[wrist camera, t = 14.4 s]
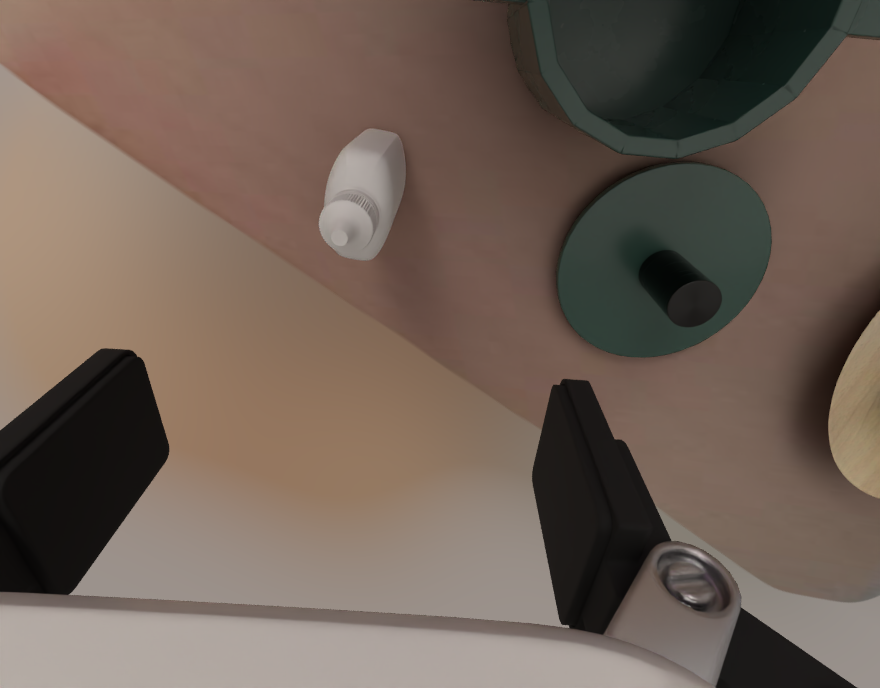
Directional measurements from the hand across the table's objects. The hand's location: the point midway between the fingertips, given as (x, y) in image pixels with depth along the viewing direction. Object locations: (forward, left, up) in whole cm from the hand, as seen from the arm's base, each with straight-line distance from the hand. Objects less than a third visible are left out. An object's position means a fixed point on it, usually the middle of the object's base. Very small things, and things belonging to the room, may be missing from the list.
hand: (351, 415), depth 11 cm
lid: (+3, +17, -22) cm, 27 cm away
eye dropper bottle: (-1, -2, -23) cm, 23 cm away
